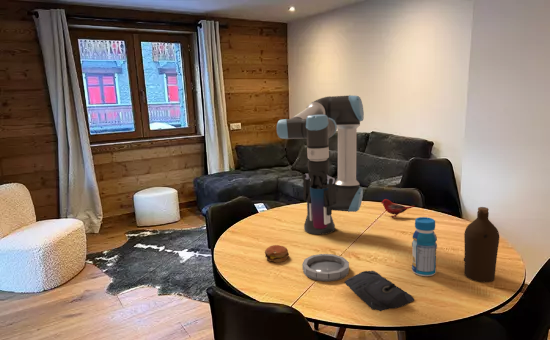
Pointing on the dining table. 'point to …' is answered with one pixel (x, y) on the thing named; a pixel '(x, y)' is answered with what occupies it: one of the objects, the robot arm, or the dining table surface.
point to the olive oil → (481, 248)
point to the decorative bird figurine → (394, 207)
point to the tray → (325, 267)
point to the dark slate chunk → (378, 291)
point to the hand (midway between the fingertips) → (320, 221)
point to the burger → (276, 253)
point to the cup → (318, 206)
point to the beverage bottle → (424, 247)
